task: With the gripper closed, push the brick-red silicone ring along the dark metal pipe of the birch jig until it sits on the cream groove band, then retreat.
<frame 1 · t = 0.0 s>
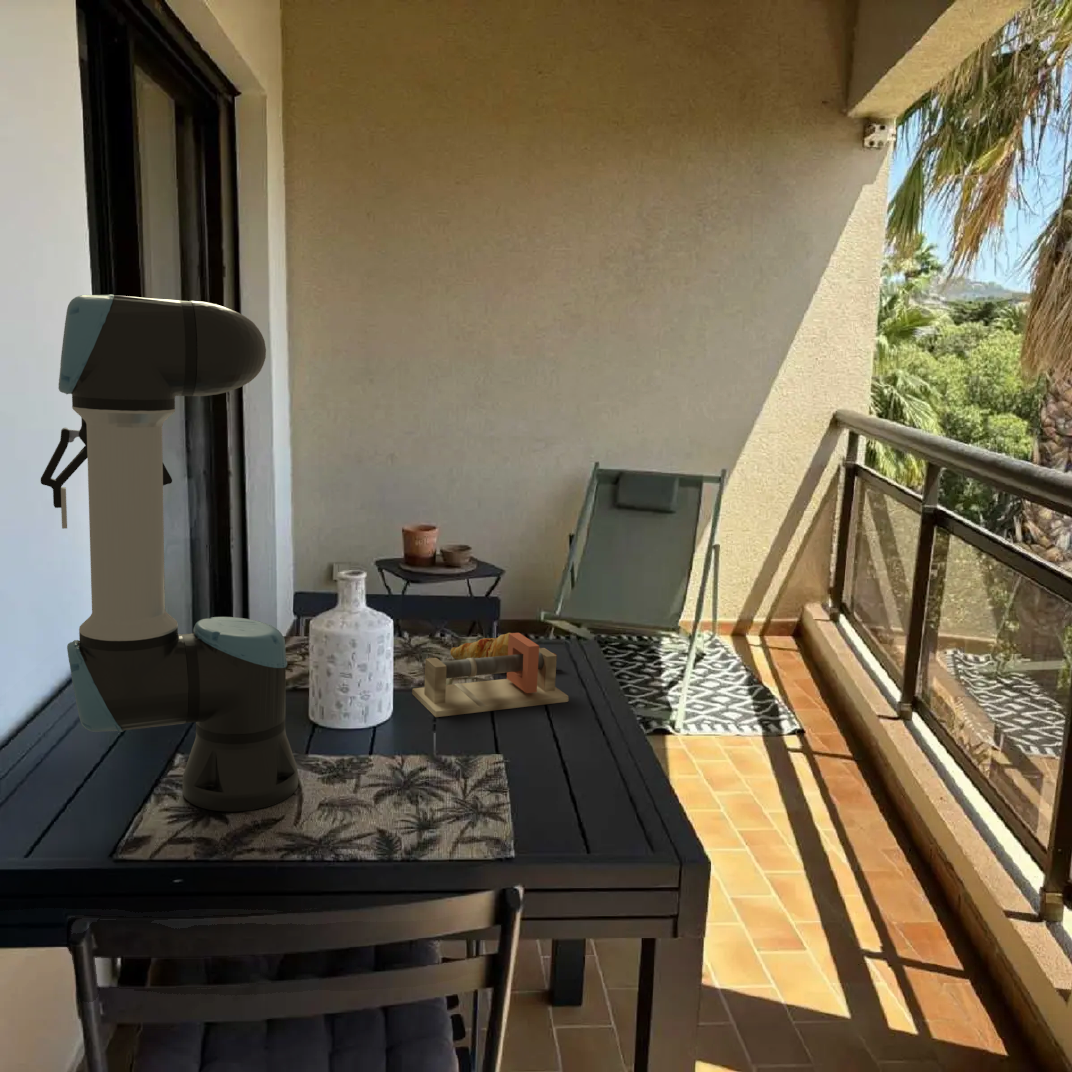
hand: (108, 526, 170), 28 cm above the table, fingers open, 13 cm apart
pipe jig: (490, 697, 179), on the table
ring: (522, 662, 180), point 6 cm above the table, slide at -6.0 cm
croissant: (502, 666, 198), on the table
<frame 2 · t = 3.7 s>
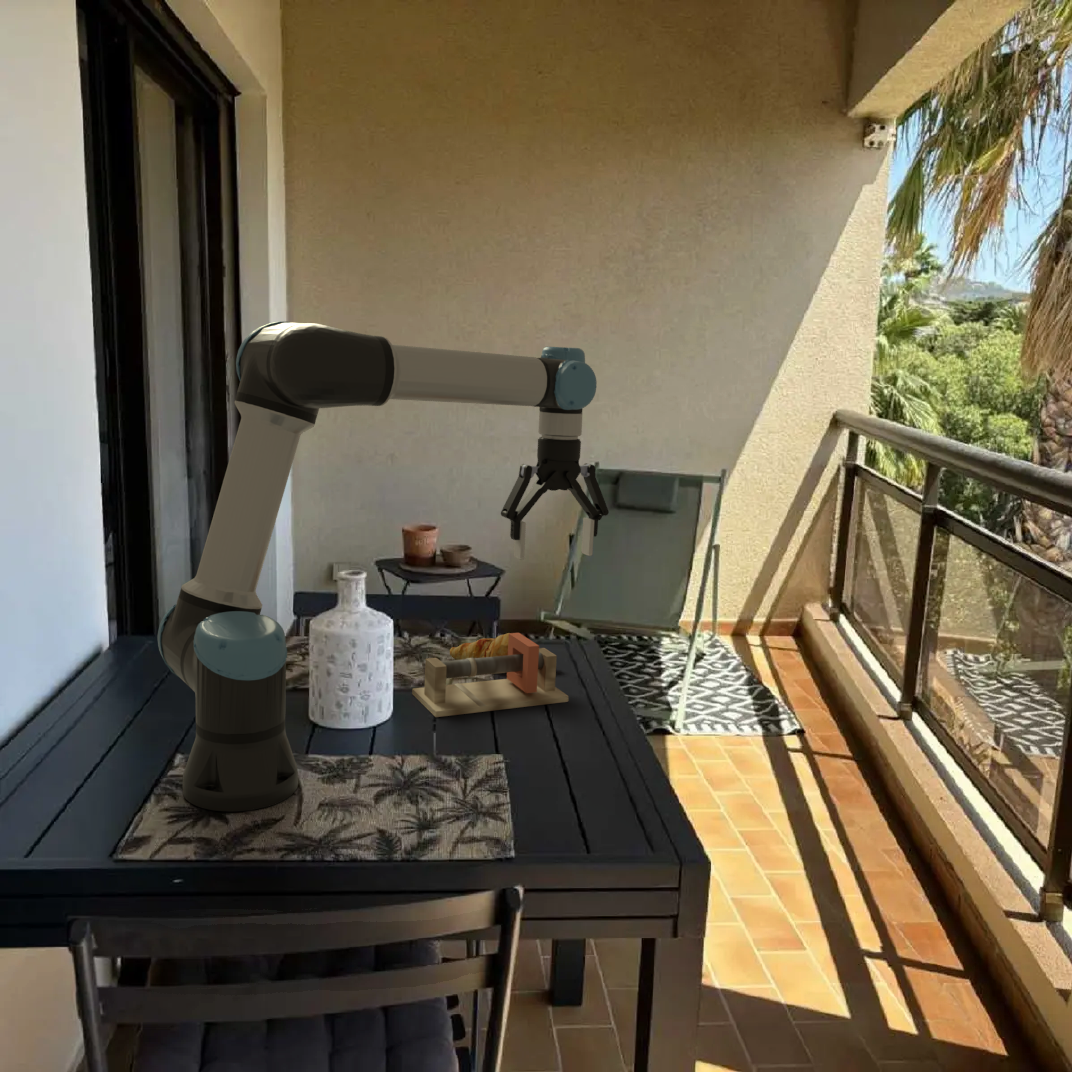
hand: (553, 556, 179), 25 cm above the table, fingers open, 13 cm apart
nothing on the table moved.
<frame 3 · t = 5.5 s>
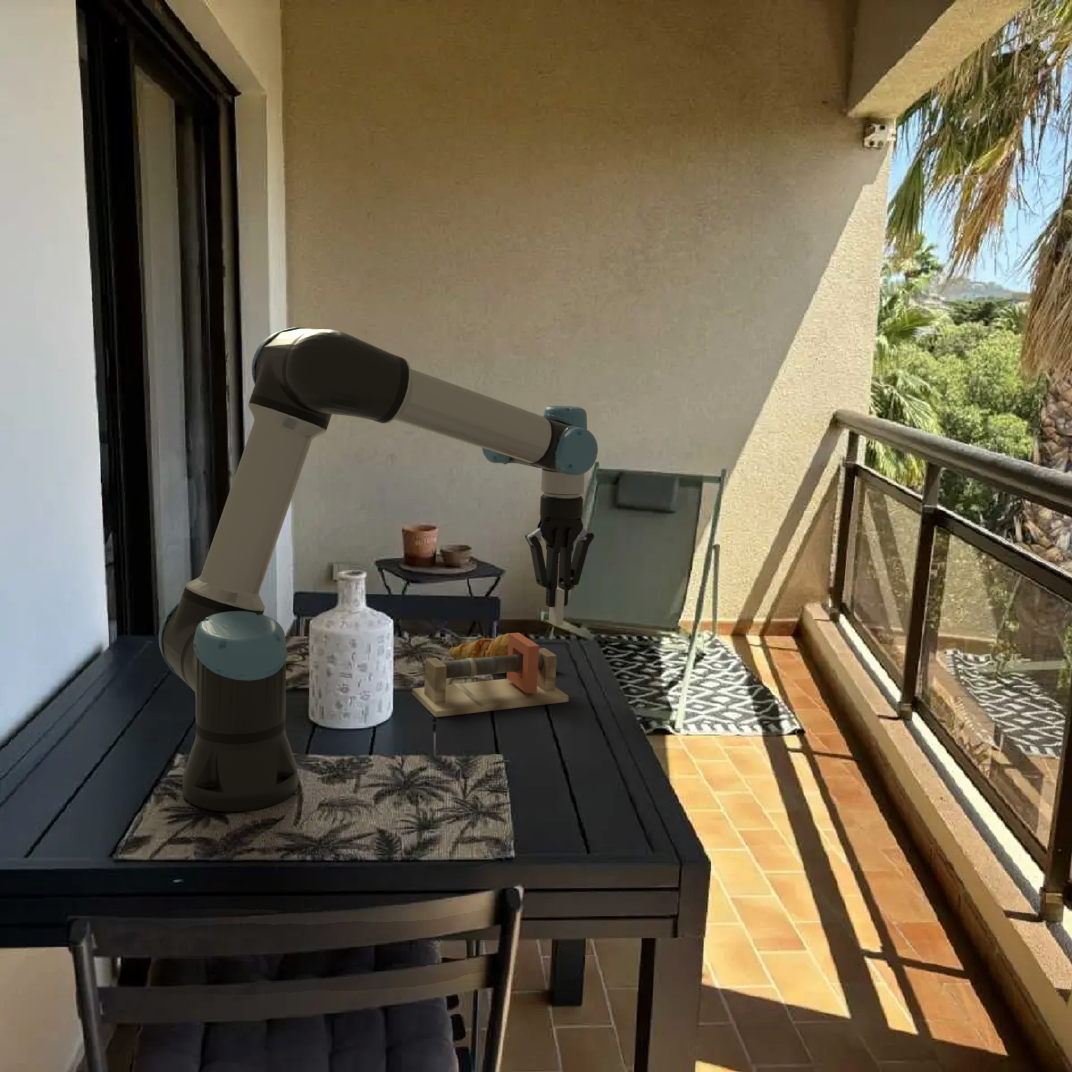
hand: (555, 623, 182), 13 cm above the table, fingers closed
nothing on the table moved.
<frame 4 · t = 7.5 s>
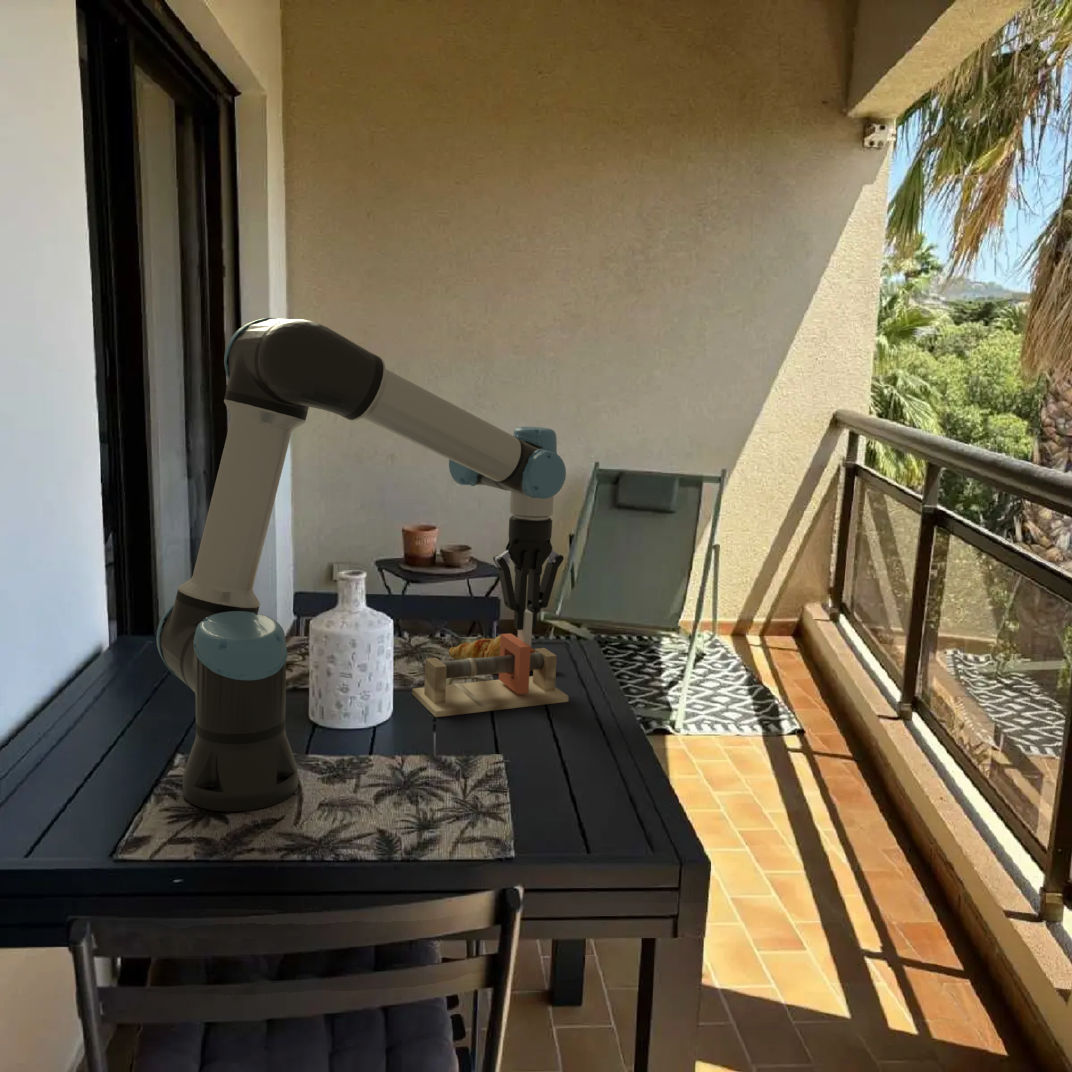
hand: (523, 646, 180), 9 cm above the table, fingers closed
ring: (514, 663, 180), point 6 cm above the table, slide at -4.4 cm, touching gripper
everything else where it was.
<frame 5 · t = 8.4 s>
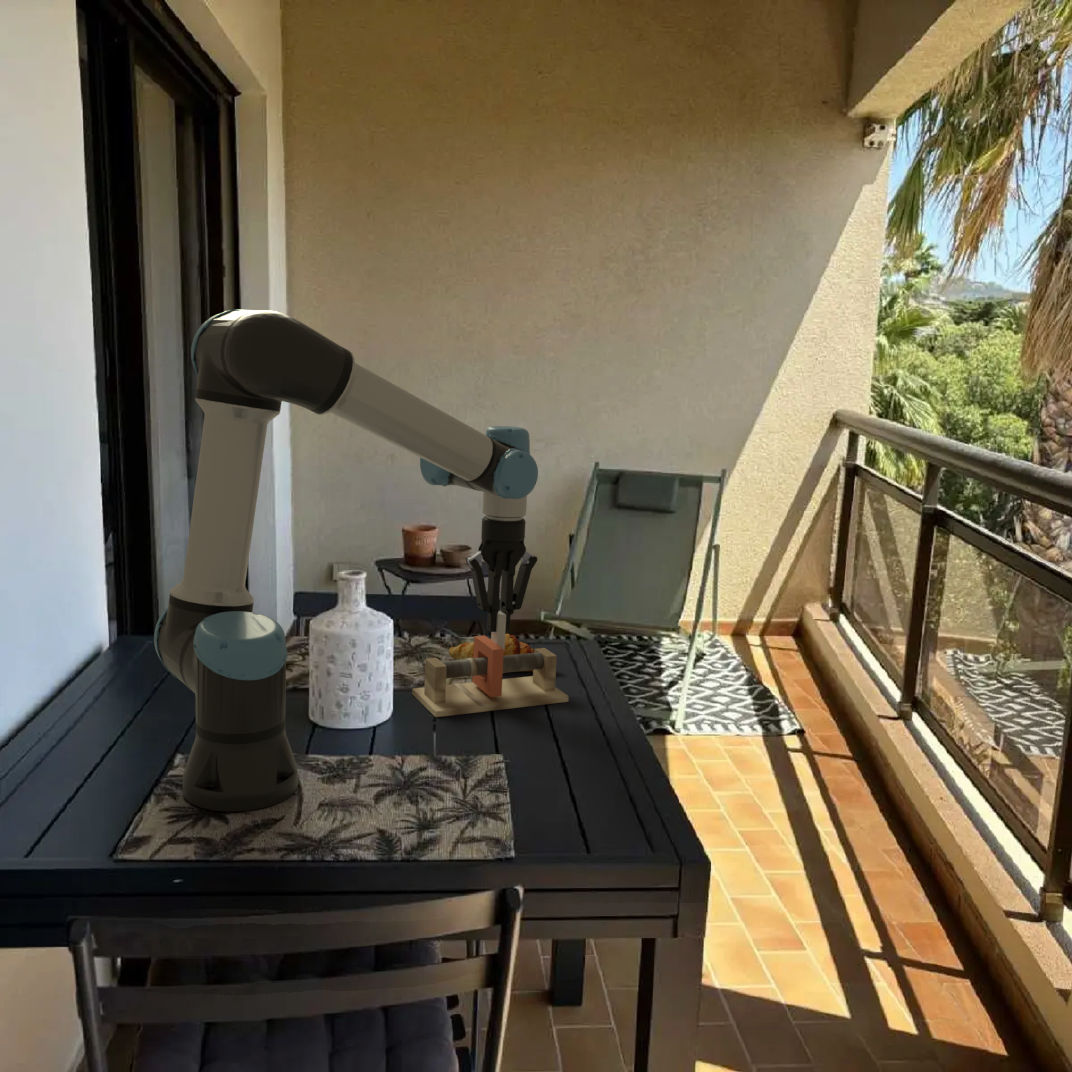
hand: (497, 648, 177), 9 cm above the table, fingers closed
ring: (487, 665, 177), point 6 cm above the table, slide at 0.8 cm, touching gripper
everything else where it was.
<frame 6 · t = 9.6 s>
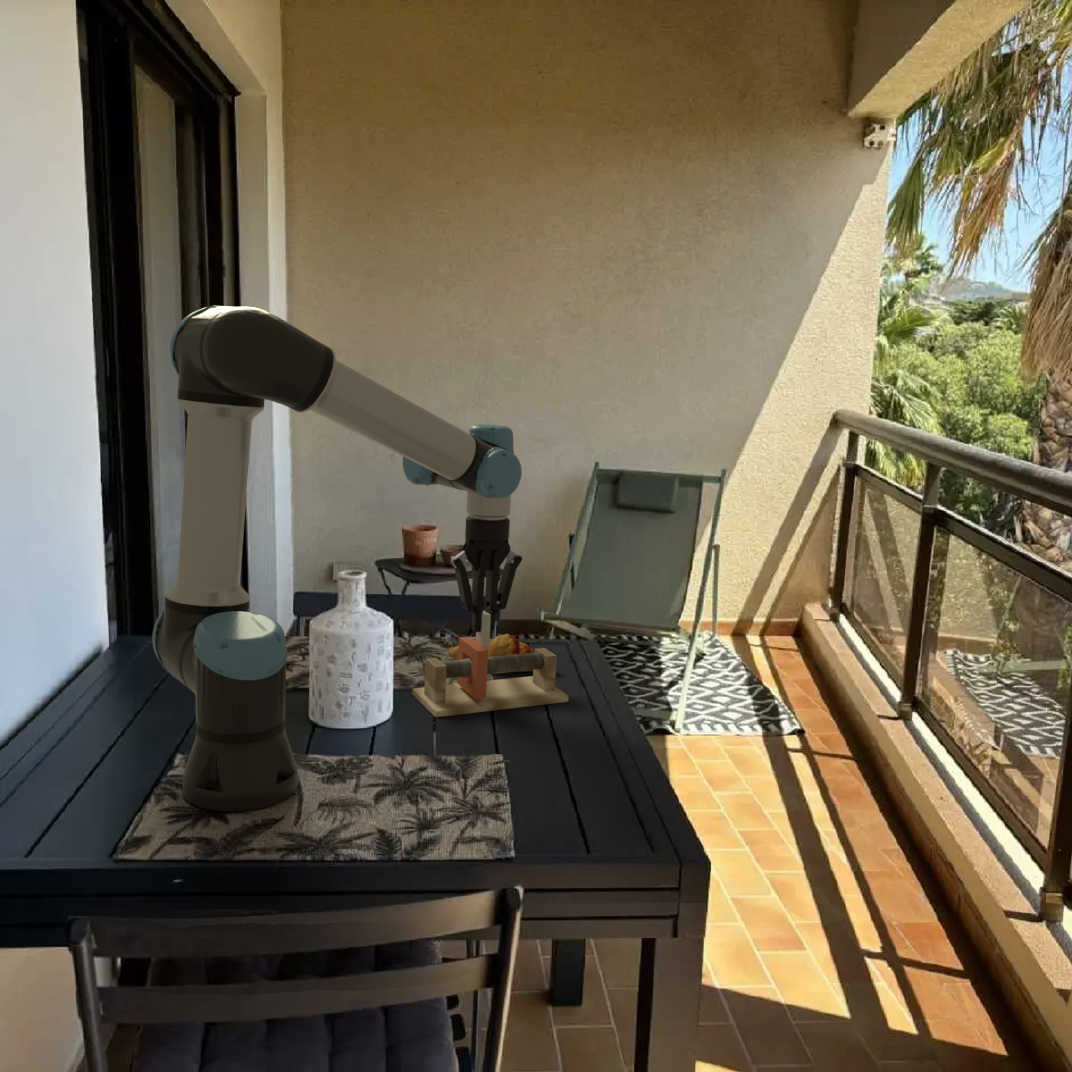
hand: (482, 648, 176), 9 cm above the table, fingers closed
ring: (472, 667, 176), point 6 cm above the table, slide at 3.7 cm, touching gripper
everything else where it was.
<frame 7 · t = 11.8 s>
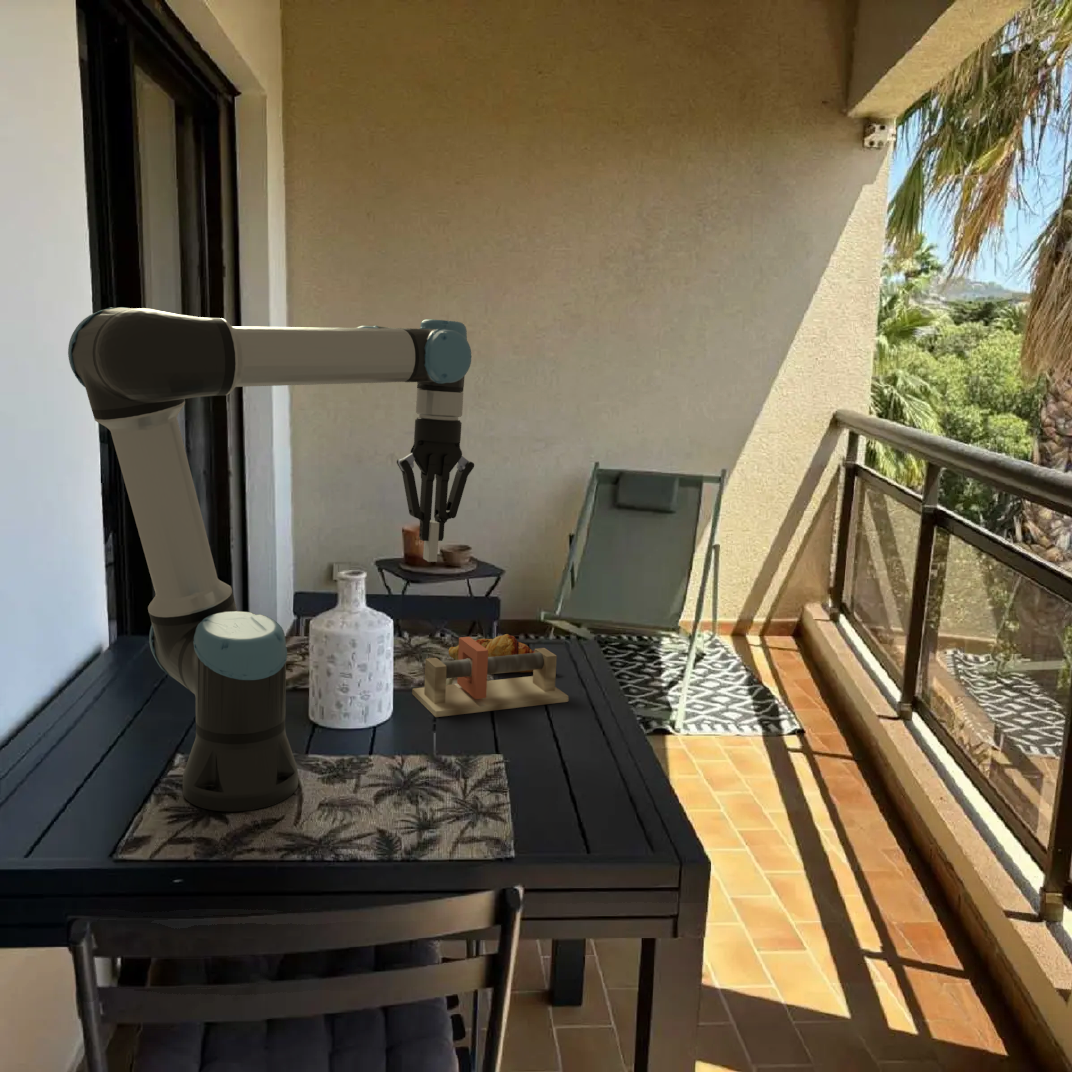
hand: (429, 559, 167), 26 cm above the table, fingers closed
ring: (472, 667, 176), point 6 cm above the table, slide at 3.7 cm
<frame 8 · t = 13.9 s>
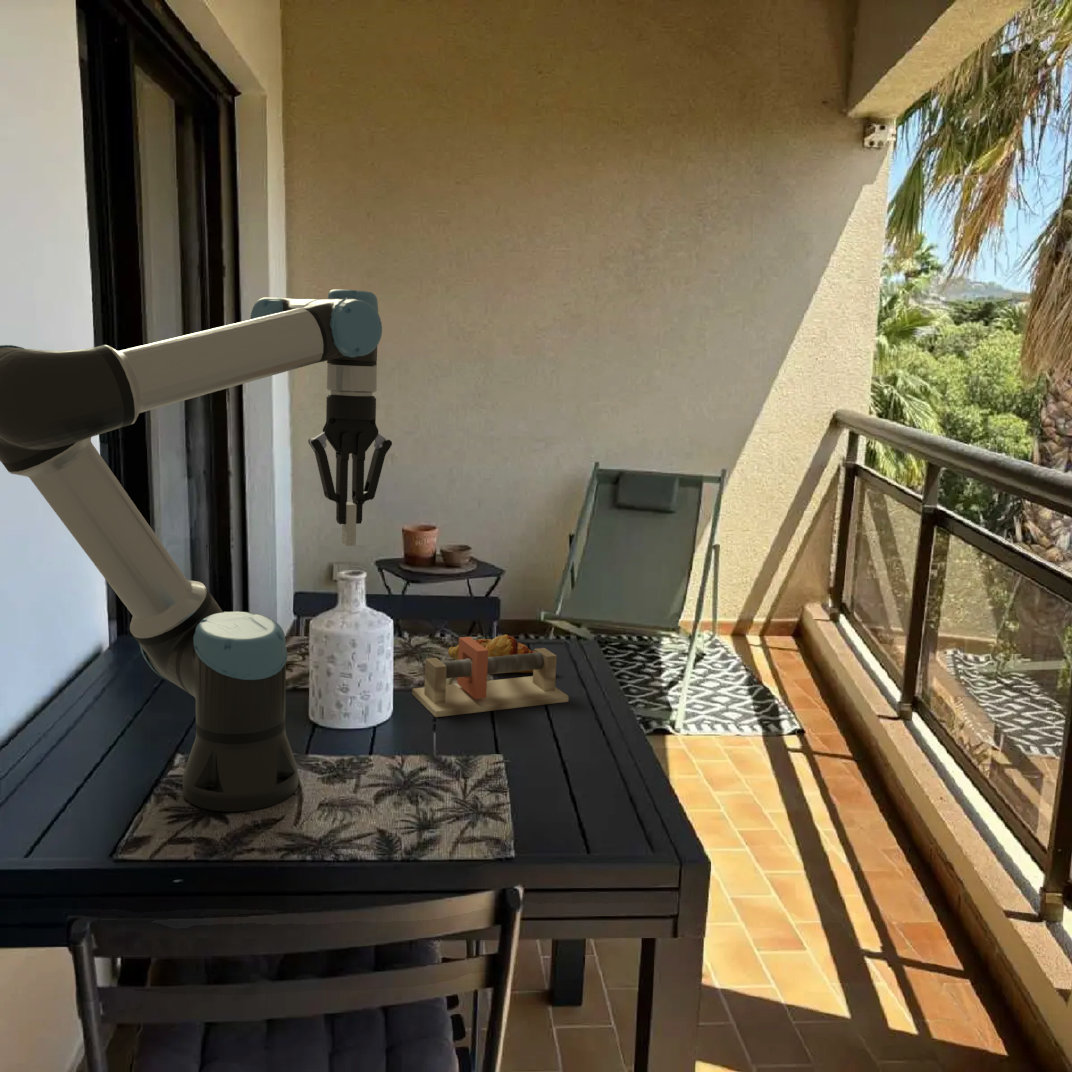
hand: (348, 544, 159), 29 cm above the table, fingers closed
at the end: ring slide at 3.7 cm; the gripper is holding nothing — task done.
